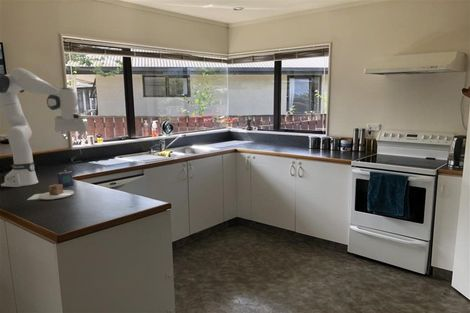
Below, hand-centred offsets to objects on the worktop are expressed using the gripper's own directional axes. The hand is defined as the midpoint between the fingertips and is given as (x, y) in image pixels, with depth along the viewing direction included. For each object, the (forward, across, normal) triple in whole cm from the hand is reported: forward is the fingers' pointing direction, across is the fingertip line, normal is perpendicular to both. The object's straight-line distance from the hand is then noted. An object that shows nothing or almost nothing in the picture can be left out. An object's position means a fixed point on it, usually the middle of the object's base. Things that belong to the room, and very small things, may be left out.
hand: (72, 139), depth 214 cm
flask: (+31, -14, +8) cm, 35 cm away
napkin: (+31, -14, -16) cm, 37 cm away
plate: (+31, -4, -14) cm, 34 cm away
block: (+30, -4, -14) cm, 33 cm away
